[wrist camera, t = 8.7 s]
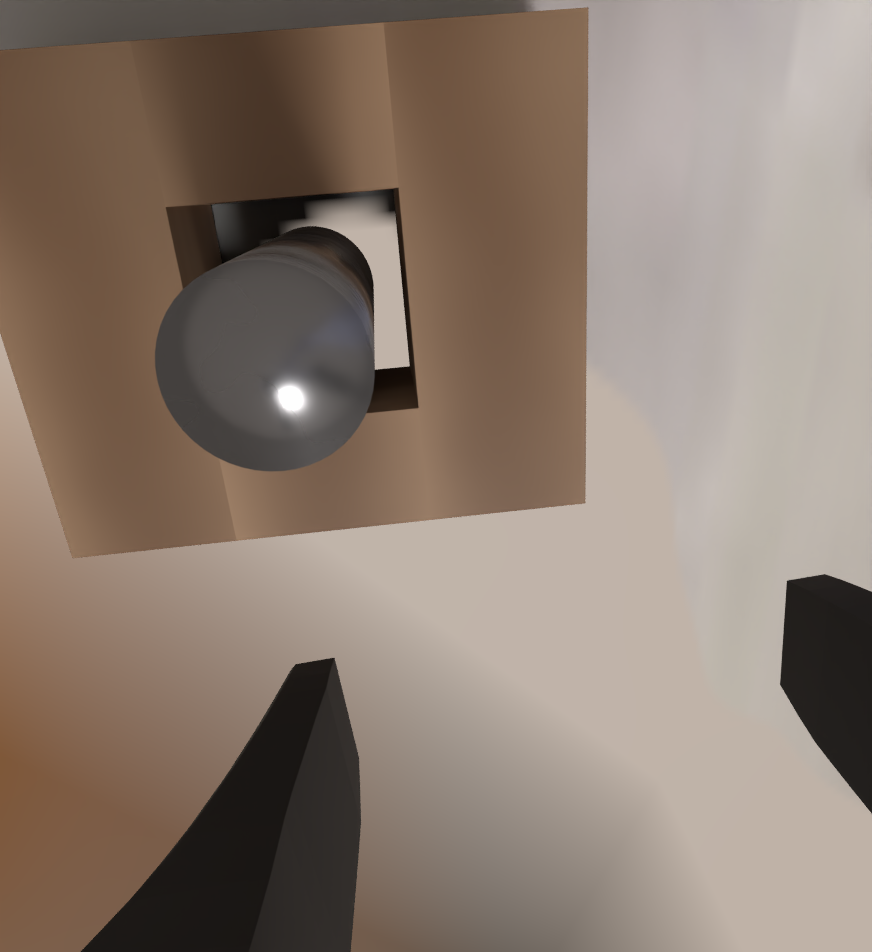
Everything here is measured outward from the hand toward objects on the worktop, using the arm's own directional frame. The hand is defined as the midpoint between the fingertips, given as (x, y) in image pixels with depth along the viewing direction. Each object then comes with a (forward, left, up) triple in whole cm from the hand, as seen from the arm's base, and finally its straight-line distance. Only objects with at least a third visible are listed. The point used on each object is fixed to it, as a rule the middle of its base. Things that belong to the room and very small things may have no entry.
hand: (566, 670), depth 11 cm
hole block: (+4, -5, -10) cm, 12 cm away
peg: (+4, -5, -10) cm, 12 cm away
